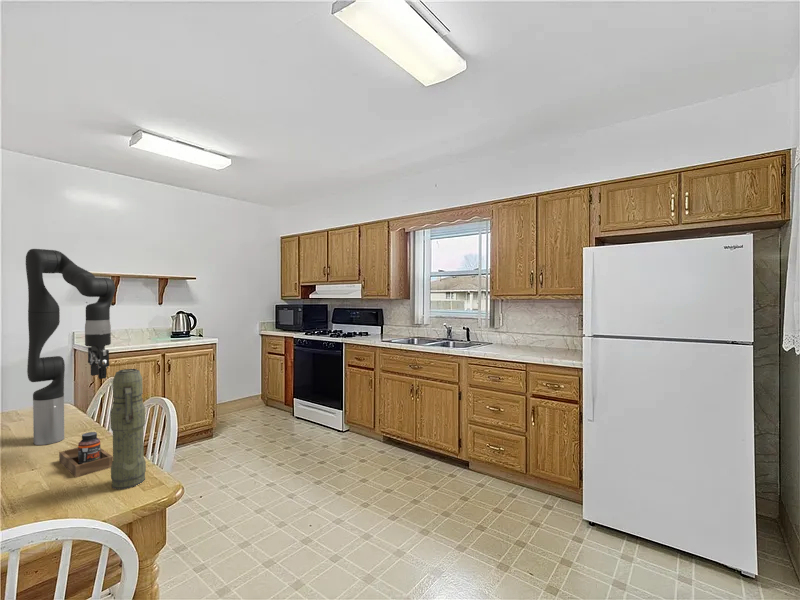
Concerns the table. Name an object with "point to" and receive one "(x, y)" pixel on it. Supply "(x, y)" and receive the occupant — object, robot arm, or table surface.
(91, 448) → the supplement bottle
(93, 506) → the table surface
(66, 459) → the wooden divided tray
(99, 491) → the table surface
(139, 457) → the thermos
